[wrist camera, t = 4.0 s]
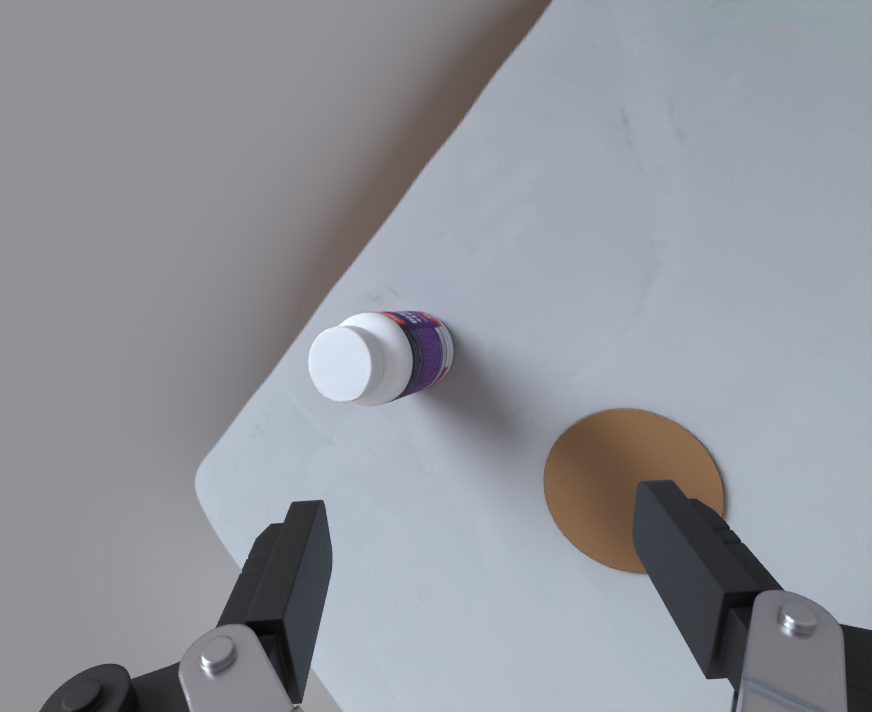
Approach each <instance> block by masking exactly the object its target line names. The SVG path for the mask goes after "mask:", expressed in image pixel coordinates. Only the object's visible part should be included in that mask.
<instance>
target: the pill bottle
mask: <svg viewBox="0 0 872 712" xmlns="http://www.w3.org/2000/svg"><path fill="white" fill-rule="evenodd" d="M452 360H453V343H452V339H451V336H450V334H449V332H448V330H447V328H446V327H445V326H444V324H443V323H442V322H441V321H440V320H439V319H437V318H436V317H434V316H433V315H431V314H428V313H425V312H419V311H397V312H365V313H360V314H356V315H354V316H352V317H350V318H348V319H346V320H345V321H343V322H342V323H341V324H340V325H339V326H337V327H332V328H329V329H327V330H325V331H323V332H322V333H321V334H320V335H319V336H318V337H317V338H316V339H315V341H314V342H313V344H312V346H311V349H310V353H309V371H310V375H311V378H312V381H313V383H314V385H315V386H316V388H317V389H318V390H319V391H320V392H321V393H322V394H323V395H324V396H325V397H327V398H328V399H330V400H332V401H335V402H341V403H346V402H351V401H353V402H355V403H357V404H360V405H364V406H377V405H381V404H385V403H388V402H391V401H394V400H396V399H399V398H402V397H404V396H407V395H410V394H412V393H415V392H418V391H420V390H423V389H426V388H429V387H431V386H433V385H435V384H436V383H438V382H439V381H441V380H442V379H443V378H444V376H445V375H446V374H447V372H448V371H449V369H450V367H451V364H452Z"/></svg>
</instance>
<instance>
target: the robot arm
mask: <svg viewBox="0 0 872 712" xmlns="http://www.w3.org/2000/svg"><path fill="white" fill-rule="evenodd" d="M632 536H633V543H634V547H635V550H636V553H637V555H638V557H639V559H640V561H641V563H642V565H643V566H644V568H645V570H646V572H647V573H648V575H649V577H650V579H651V581H652V582H653V584H654V586H655V588H656V590H657V591H658V593H659V595H660V597H661V598H662V600H663V602H664V604H665V606H666V607H667V609H668V611H669V613H670V615H671V616H672V618H673V620H674V622H675V624H676V625H677V627H678V629H679V631H680V632H681V634H682V636H683V638H684V640H685V641H686V643H687V645H688V647H689V649H690V650H691V652H692V654H693V656H694V657H695V659H696V661H697V663H698V665H699V666H700V668H701V670H702V672H703V674H704V675H705V677H706V679H721V678H728V680H729V681H730V683H731V685H732V686H733V688H734V692H733V696H732V701H731V708H730V712H872V630H868V629H863V628H858V627H853V626H848V625H843V624H839V623H838V622H837V620H836V619H835V618H834V617H833V616H832V615H831V614H830V613H829V612H828V611H827V610H825V609H824V608H823V607H821V606H820V605H819V604H817V603H815V602H814V601H812V600H810V599H808V598H806V597H804V596H801V595H799V594H796V593H793V592H789V591H785V590H784V589H783V588H782V587H781V586H780V585H779V584H778V582H777V581H776V580H775V579H774V578H773V577H772V575H771V574H770V573H769V572H768V571H767V570H766V568H765V567H764V566H763V565H762V564H761V563H760V562H759V560H758V559H757V558H756V557H755V556H754V555H753V553H752V552H751V551H750V550H749V549H748V548H747V546H746V545H745V544H744V543H741V540H740V538H739V537H738V536H737V535H736V534H735V533H734V531H733V530H730V527H729V526H728V525H727V523H726V522H725V521H724V520H723V519H722V518H721V516H720V515H719V514H718V513H717V512H716V511H715V510H713V509H712V508H710V507H709V506H707V505H706V504H704V503H703V502H701V501H699V500H698V499H696V498H694V499H688V498H687V497H686V496H685V494H684V493H683V492H682V491H681V489H680V488H679V487H678V486H677V485H676V483H675V482H674V481H673V480H670V479H666V480H650V481H640V482H639V483H638V485H637V490H636V500H635V509H634V519H633V528H632ZM331 572H332V545H331V539H330V533H329V527H328V521H327V515H326V509H325V504H324V501H323V500H313V501H297V502H292V504H291V505H290V508H289V510H288V513H287V515H286V518H285V521H284V523H276V524H270V525H269V526H268V527H267V528H266V529H265V530H264V531H263V532H262V533H261V534H260V535H259V536H258V537H257V538H256V540H255V542H254V544H253V547H252V549H251V551H250V553H249V555H248V559H247V560H246V562H245V564H244V567H243V569H242V574H240V575H239V578H238V580H237V582H236V584H235V586H234V589H233V591H232V593H231V595H230V597H229V600H228V602H227V604H226V606H225V608H224V611H223V613H222V615H221V617H220V620H219V622H218V624H217V626H216V628H215V629H213V630H211V631H209V632H207V633H205V634H204V635H202V636H201V637H200V638H198V639H197V640H196V641H195V642H194V643H193V644H192V645H191V646H190V647H189V649H188V650H187V651H186V653H185V654H184V656H183V658H182V660H181V661H180V662H178V663H176V664H173V665H171V666H168V667H165V668H163V669H159V670H157V671H154V672H151V673H148V674H145V675H142V676H139V677H136V678H133V679H131V678H130V675H129V673H128V671H127V670H126V669H125V668H124V667H123V666H120V665H117V664H103V665H99V666H95V667H92V668H90V669H87V670H85V671H83V672H81V673H79V674H77V675H76V676H74V677H72V678H71V679H70V680H68V681H67V682H65V683H64V684H63V685H62V686H60V687H59V688H58V689H57V690H56V691H55V692H54V693H53V694H52V695H51V696H50V697H49V699H48V700H47V701H46V703H45V704H44V705H43V707H42V708H41V710H40V711H39V712H303V710H302V709H301V708H300V706H296V707H294V706H293V704H298V703H302V700H303V696H304V691H305V687H306V682H307V678H308V674H309V669H310V665H311V661H312V656H313V652H314V647H315V643H316V639H317V634H318V630H319V625H320V621H321V617H322V612H323V608H324V603H325V599H326V595H327V590H328V586H329V581H330V577H331Z"/></svg>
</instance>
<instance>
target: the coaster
mask: <svg viewBox="0 0 872 712" xmlns="http://www.w3.org/2000/svg"><path fill="white" fill-rule="evenodd" d="M666 479H670V480H673V481H674V482H675V483H676V485H677V486H678V487H679V488H680V489H681V491H682V492H683V493H684V494H685V496H686V497H687V498H688V499H694V498H696V499H698V500H699V501H701V502H703V503H704V504H706V505H707V506H709V507H710V508H712V509H713V510H715V511H716V512H717V513H718V514H719V515H720V516H721V518H722V514H723V507H724V493H723V487H722V482H721V479H720V475H719V472H718V470H717V468H716V465H715V463H714V461H713V459H712V458H711V456H710V455H709V453H708V452H707V450H706V449H705V447H704V446H703V445H702V444H701V443H700V442H699V441H698V439H696V438H695V437H694V436H693V435H692V434H691V433H690V432H689V431H687V430H686V429H685V428H683V427H682V426H680V425H679V424H677V423H675V422H673V421H672V420H670V419H668V418H666V417H663V416H661V415H658V414H655V413H652V412H648V411H644V410H638V409H625V408H619V409H609V410H604V411H600V412H596V413H594V414H591V415H588V416H586V417H584V418H582V419H580V420H579V421H577V422H576V423H574V424H573V425H571V426H570V427H569V428H568V429H567V430H566V431H565V432H564V433H563V434H562V435H561V436H560V437H559V439H558V440H557V441H556V443H555V444H554V446H553V448H552V449H551V451H550V454H549V456H548V459H547V462H546V466H545V471H544V492H545V497H546V502H547V505H548V508H549V511H550V513H551V515H552V517H553V519H554V521H555V523H556V524H557V526H558V528H559V529H560V530H561V532H562V533H563V534H564V536H565V537H566V538H567V539H568V540H569V541H570V542H571V543H572V544H573V545H574V546H575V547H576V548H578V549H579V550H580V551H581V552H583V553H584V554H586V555H587V556H589V557H590V558H592V559H594V560H596V561H598V562H600V563H601V564H604V565H607V566H609V567H612V568H615V569H619V570H623V571H629V572H636V573H647V572H646V570H645V568H644V566H643V565H642V563H641V561H640V559H639V557H638V555H637V553H636V550H635V547H634V543H633V536H632V528H633V519H634V509H635V500H636V490H637V485H638V483H639V482H640V481H650V480H666Z"/></svg>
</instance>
